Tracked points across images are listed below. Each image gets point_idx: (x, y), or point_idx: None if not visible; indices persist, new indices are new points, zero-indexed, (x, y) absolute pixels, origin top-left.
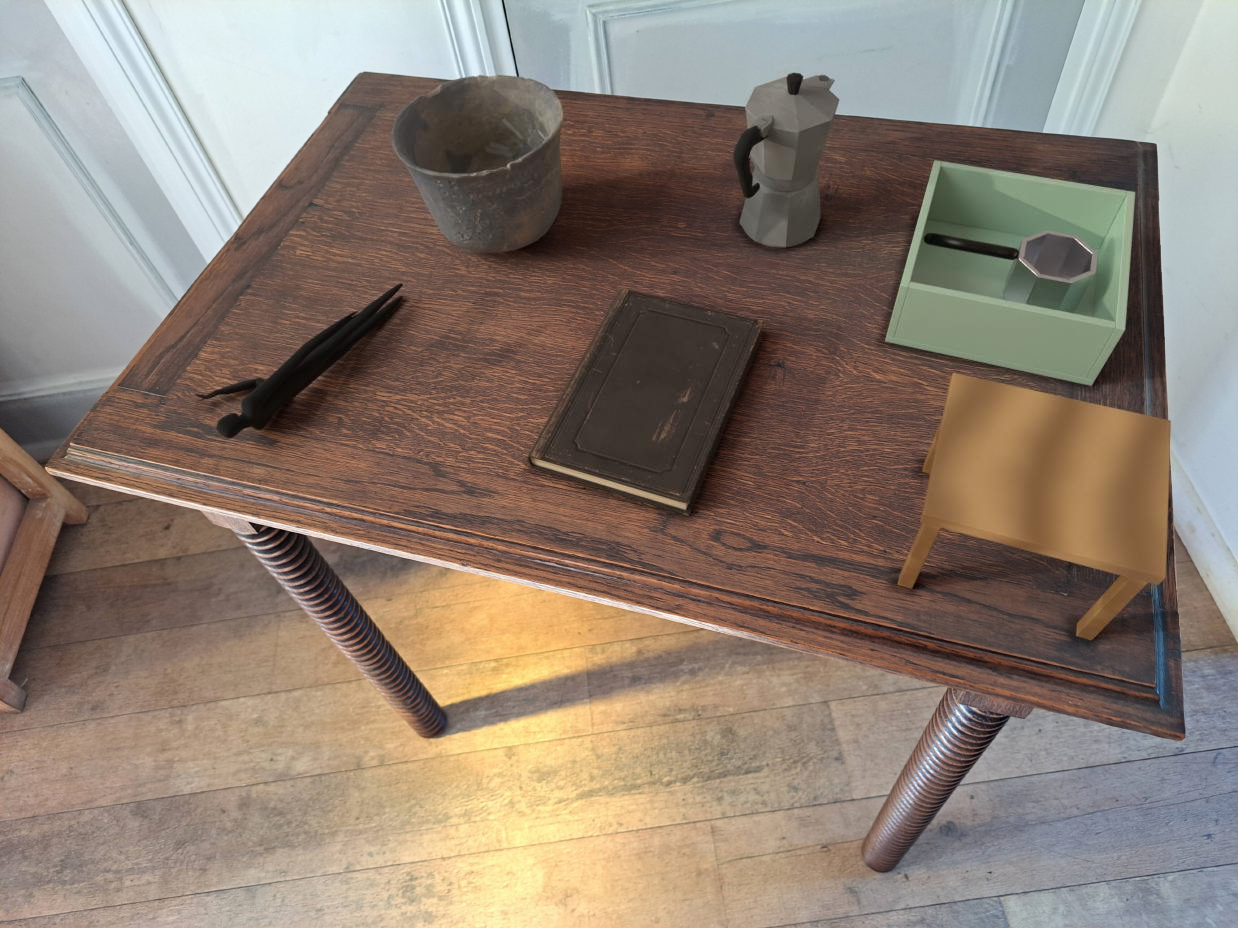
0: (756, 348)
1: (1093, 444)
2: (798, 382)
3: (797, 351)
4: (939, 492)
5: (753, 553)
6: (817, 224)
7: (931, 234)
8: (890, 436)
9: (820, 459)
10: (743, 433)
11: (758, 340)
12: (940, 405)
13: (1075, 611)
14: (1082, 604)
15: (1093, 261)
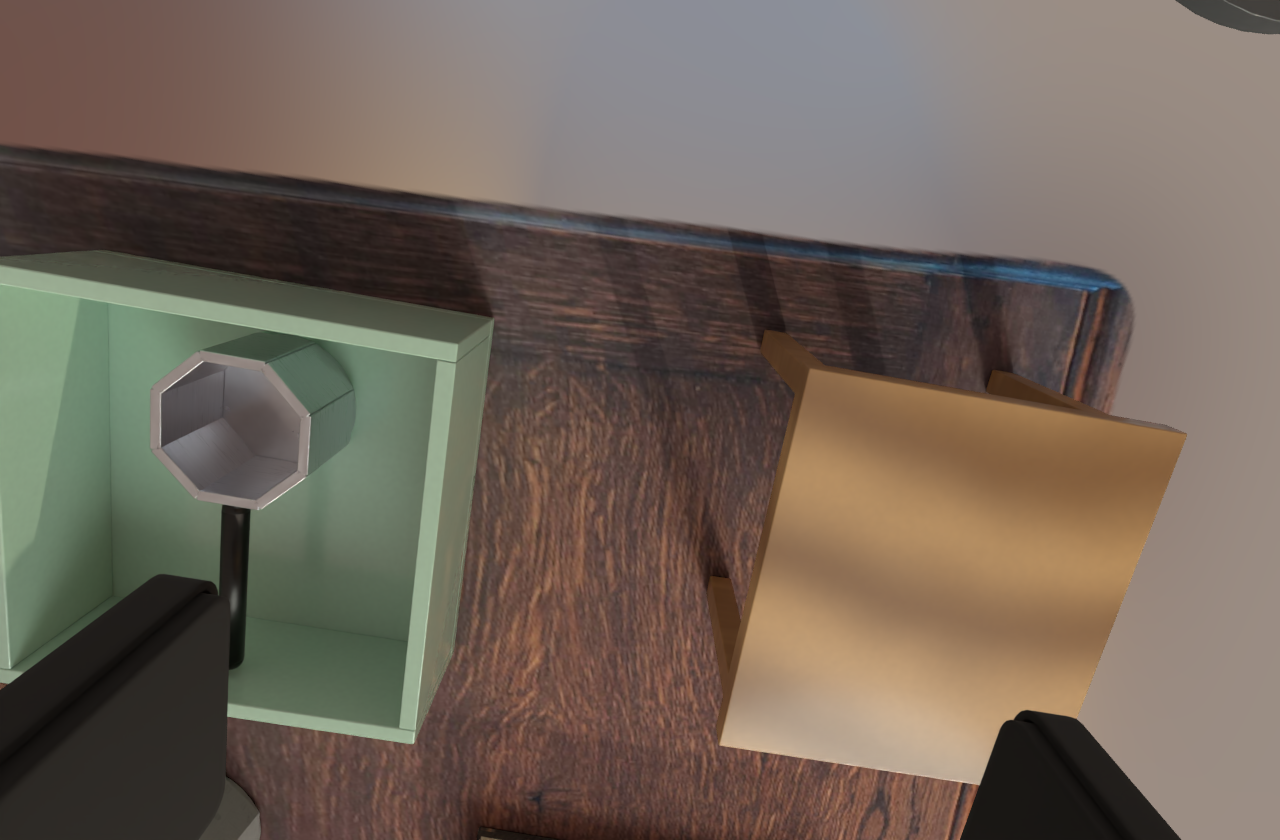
0: (511, 836)
1: (883, 522)
2: (568, 770)
3: (502, 775)
4: None
5: (891, 804)
6: None
7: None
8: (660, 640)
9: None
10: (682, 833)
11: (493, 834)
12: (582, 568)
13: None
14: (952, 379)
15: (229, 362)
